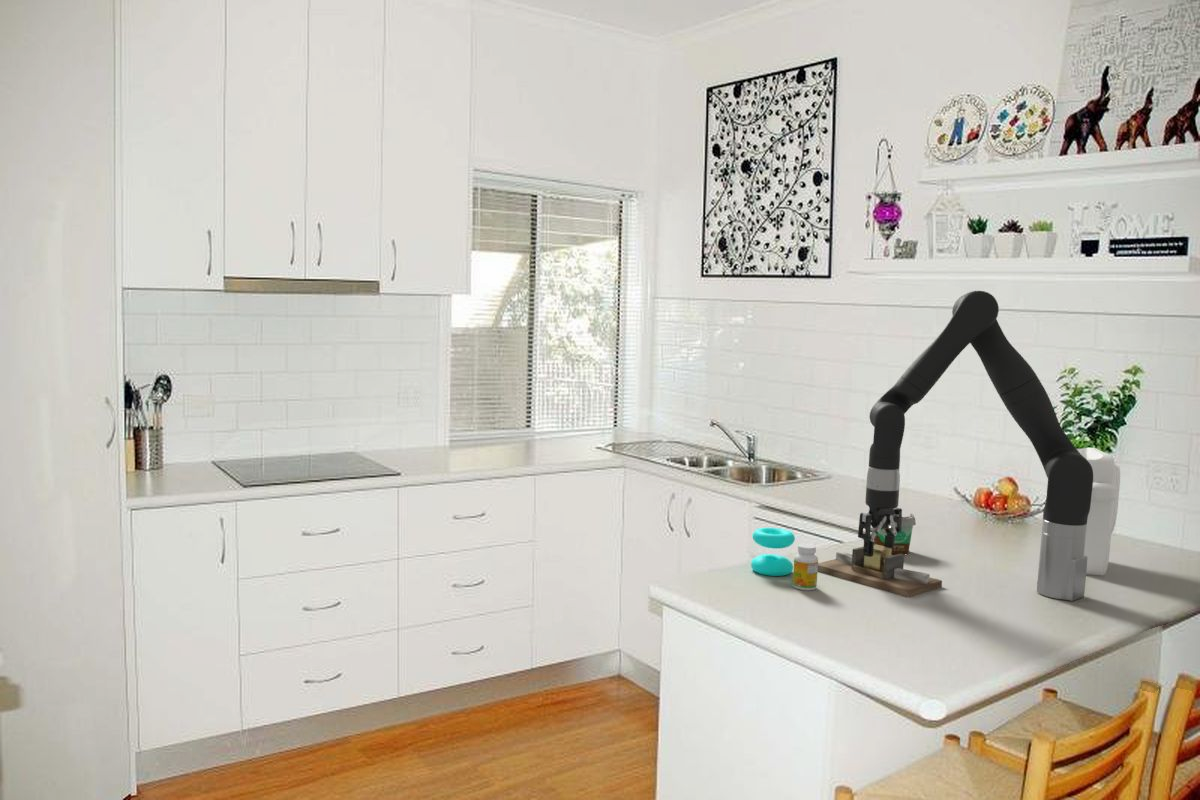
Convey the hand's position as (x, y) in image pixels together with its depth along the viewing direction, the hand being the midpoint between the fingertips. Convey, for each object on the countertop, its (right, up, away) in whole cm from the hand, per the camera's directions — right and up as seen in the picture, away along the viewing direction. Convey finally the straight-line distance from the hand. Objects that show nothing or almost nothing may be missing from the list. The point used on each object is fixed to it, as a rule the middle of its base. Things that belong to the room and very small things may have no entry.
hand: (878, 553), depth 238 cm
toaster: (+59, -6, +20) cm, 63 cm away
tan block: (0, -5, +1) cm, 5 cm away
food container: (+12, -4, +25) cm, 28 cm away
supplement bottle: (-20, -7, -9) cm, 23 cm away
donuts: (-25, -5, +3) cm, 26 cm away
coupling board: (0, -6, +1) cm, 6 cm away
